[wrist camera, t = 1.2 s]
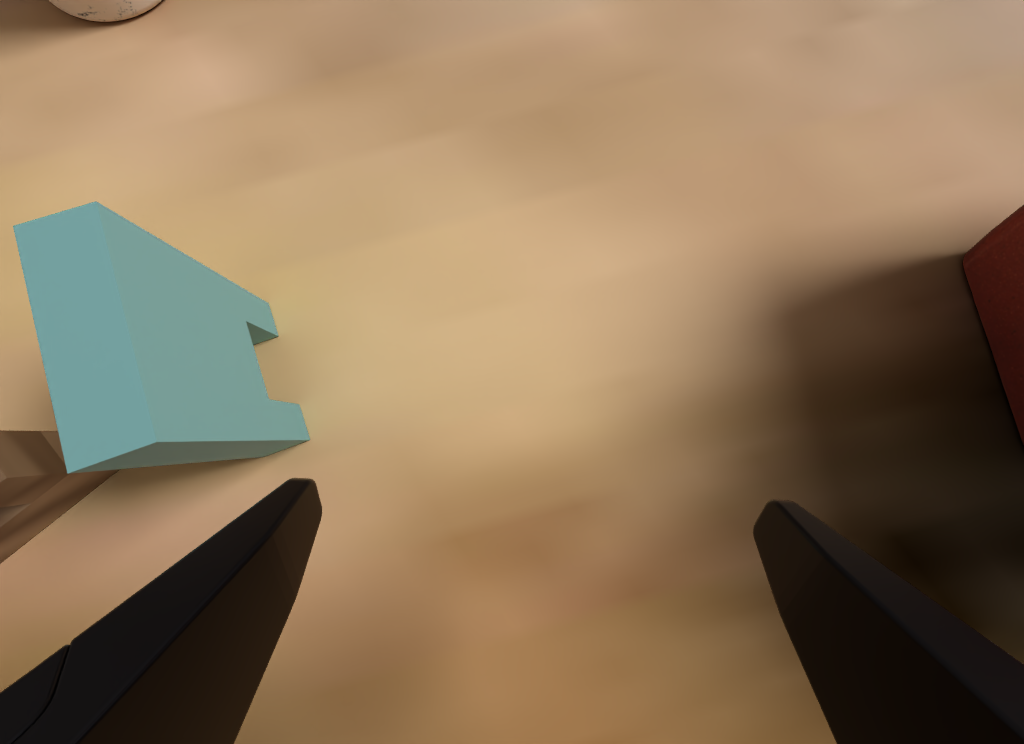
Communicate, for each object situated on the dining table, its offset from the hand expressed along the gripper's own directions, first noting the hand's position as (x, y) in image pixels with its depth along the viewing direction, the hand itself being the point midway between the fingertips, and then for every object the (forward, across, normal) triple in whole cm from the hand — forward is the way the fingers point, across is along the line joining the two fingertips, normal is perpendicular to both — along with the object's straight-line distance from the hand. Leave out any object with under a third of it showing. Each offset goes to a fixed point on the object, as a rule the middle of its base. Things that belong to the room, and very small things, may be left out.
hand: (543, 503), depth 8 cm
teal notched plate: (+13, +14, +6) cm, 20 cm away
